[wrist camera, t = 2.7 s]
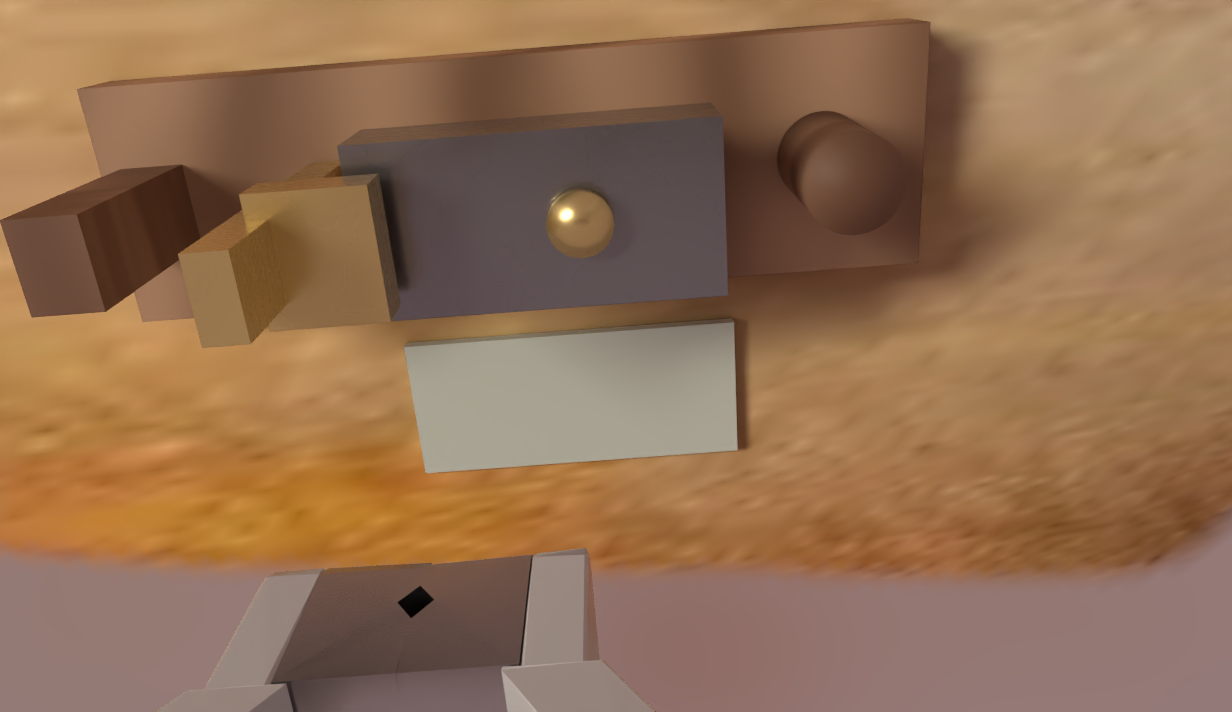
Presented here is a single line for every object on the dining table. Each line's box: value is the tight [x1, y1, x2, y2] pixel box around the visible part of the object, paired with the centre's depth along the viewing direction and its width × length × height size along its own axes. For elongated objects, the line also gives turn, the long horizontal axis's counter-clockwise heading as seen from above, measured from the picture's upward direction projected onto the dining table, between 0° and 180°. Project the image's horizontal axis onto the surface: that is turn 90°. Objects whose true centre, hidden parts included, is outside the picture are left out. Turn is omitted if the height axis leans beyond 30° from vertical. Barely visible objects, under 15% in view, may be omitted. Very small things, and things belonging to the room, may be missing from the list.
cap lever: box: [178, 160, 401, 348], centre depth 23 cm, size 3×3×9 cm
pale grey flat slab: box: [404, 318, 738, 473], centre depth 32 cm, size 11×5×1 cm, turn 94°
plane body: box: [0, 18, 930, 322], centre depth 26 cm, size 24×7×8 cm, turn 94°
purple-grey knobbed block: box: [337, 102, 728, 321], centre depth 24 cm, size 9×4×3 cm, turn 94°
